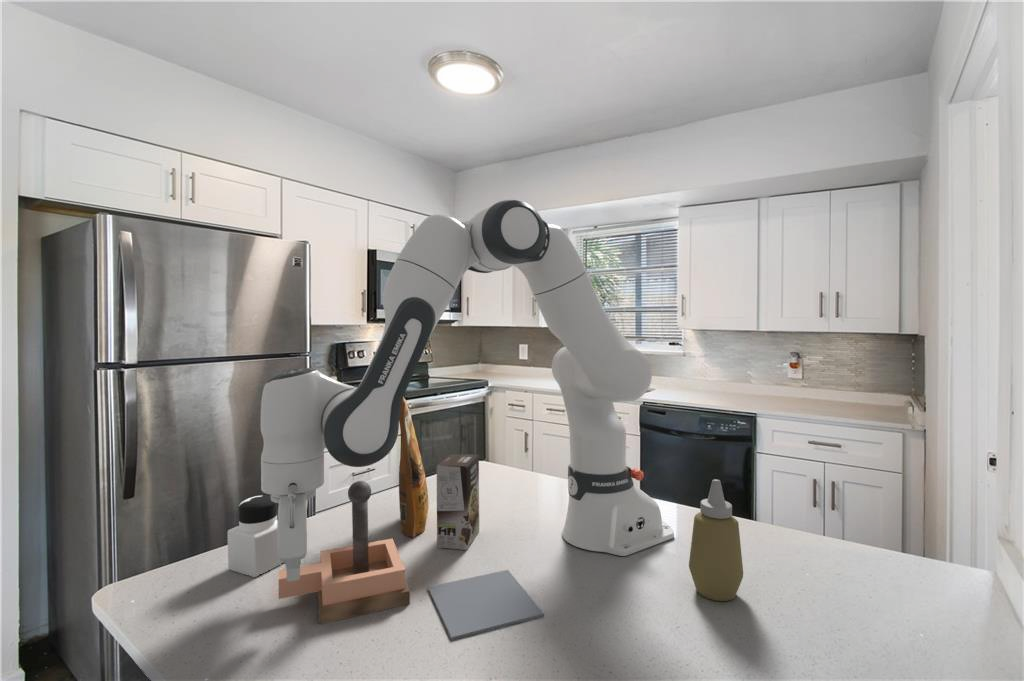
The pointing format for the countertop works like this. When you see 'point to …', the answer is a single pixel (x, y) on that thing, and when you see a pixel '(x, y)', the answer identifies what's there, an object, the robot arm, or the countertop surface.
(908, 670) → the countertop surface
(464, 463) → the coffee box
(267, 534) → the medicine bottle
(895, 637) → the countertop surface
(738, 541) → the squeeze bottle
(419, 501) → the pancake mix bag
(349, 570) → the stand
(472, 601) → the mat
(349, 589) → the frame
